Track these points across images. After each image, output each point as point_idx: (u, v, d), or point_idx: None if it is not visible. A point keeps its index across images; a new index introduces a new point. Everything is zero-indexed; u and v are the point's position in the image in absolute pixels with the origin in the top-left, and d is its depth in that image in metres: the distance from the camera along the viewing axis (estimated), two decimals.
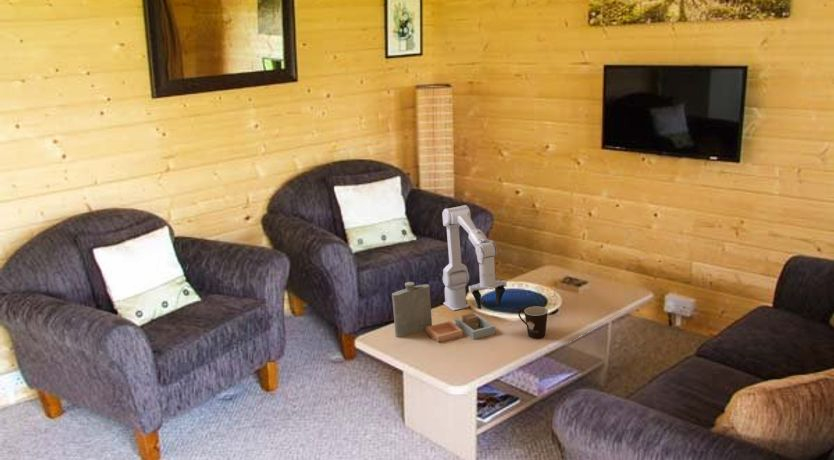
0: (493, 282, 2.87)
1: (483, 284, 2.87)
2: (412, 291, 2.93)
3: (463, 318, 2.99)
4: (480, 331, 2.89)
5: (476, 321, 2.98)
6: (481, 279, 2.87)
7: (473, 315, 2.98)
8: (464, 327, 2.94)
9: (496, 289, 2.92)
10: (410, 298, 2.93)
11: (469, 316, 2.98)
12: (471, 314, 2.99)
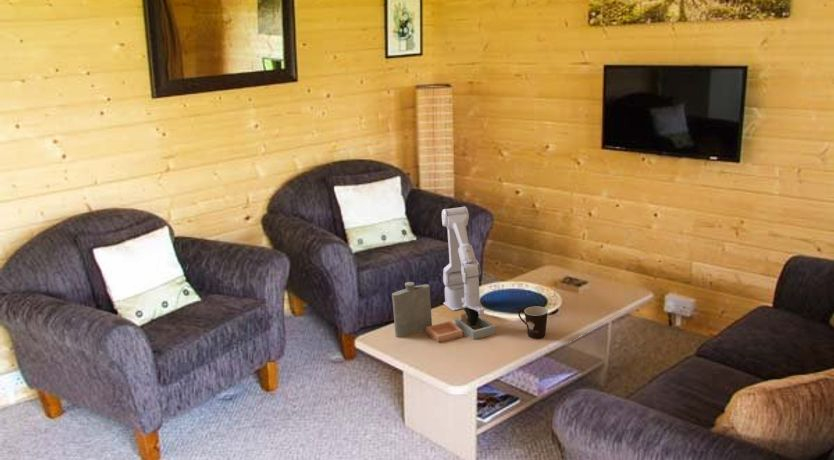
0: (468, 303, 2.92)
1: None
2: (412, 291, 2.93)
3: (462, 317, 3.00)
4: (480, 331, 2.89)
5: None
6: None
7: None
8: (464, 327, 2.94)
9: None
10: (410, 298, 2.93)
11: None
12: None
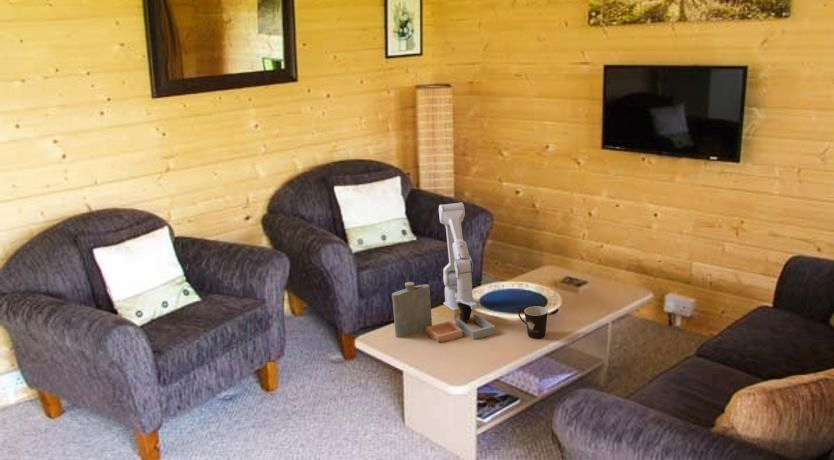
0: (461, 298, 2.97)
1: None
2: (412, 291, 2.93)
3: (455, 312, 3.04)
4: (480, 331, 2.89)
5: None
6: None
7: None
8: (464, 327, 2.94)
9: None
10: (410, 298, 2.93)
11: None
12: None
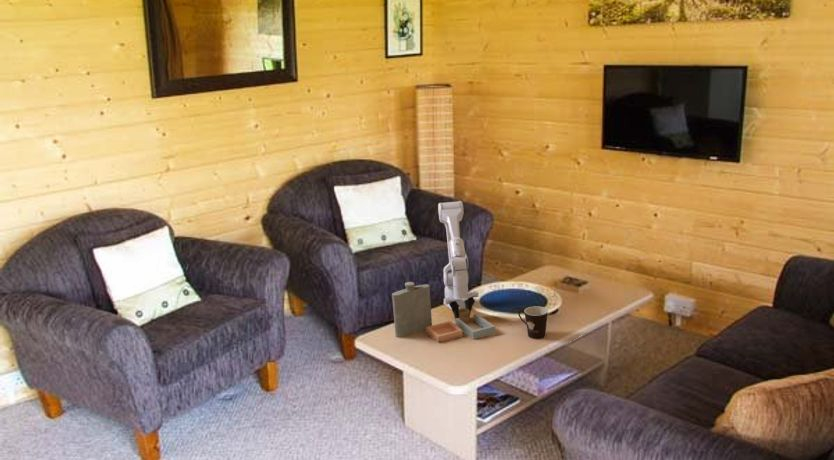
0: (467, 293, 3.00)
1: (458, 296, 3.00)
2: (412, 291, 2.93)
3: None
4: (480, 331, 2.89)
5: (468, 315, 3.03)
6: (455, 291, 3.00)
7: (465, 309, 3.04)
8: (464, 327, 2.94)
9: (466, 301, 3.05)
10: (410, 298, 2.93)
11: (461, 310, 3.04)
12: (463, 308, 3.05)
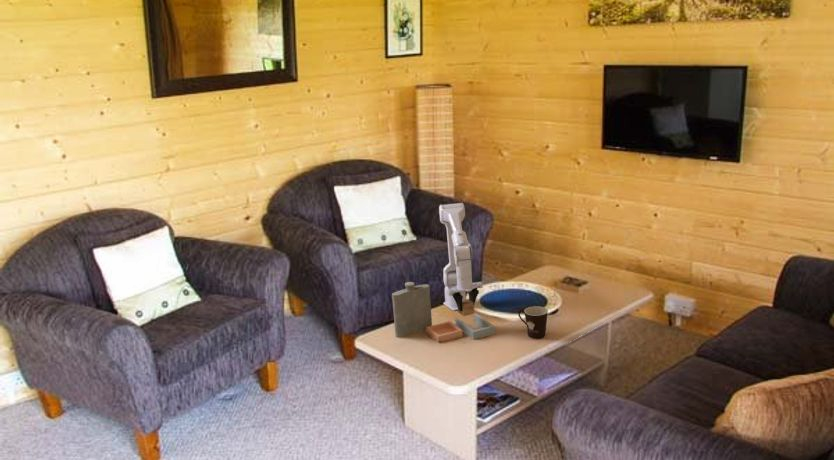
0: (471, 284, 2.90)
1: (461, 287, 2.90)
2: (412, 291, 2.93)
3: None
4: (480, 331, 2.89)
5: (472, 307, 2.94)
6: (459, 282, 2.90)
7: (469, 301, 2.94)
8: (464, 327, 2.94)
9: (469, 292, 2.95)
10: (410, 298, 2.93)
11: (465, 302, 2.94)
12: (467, 300, 2.95)
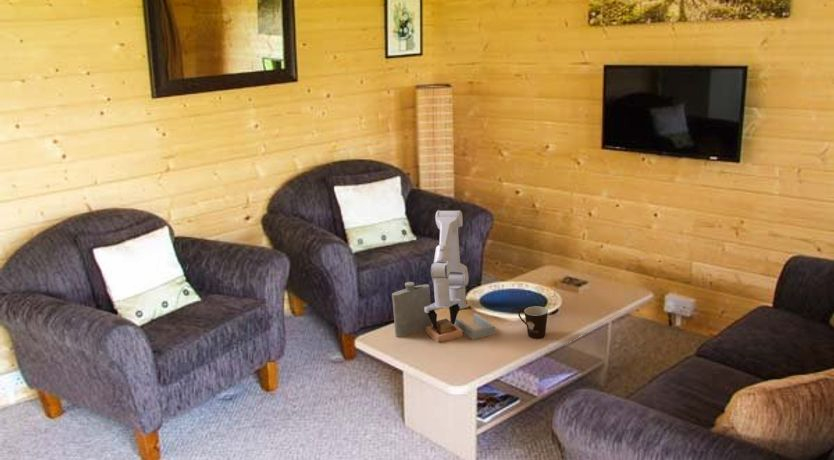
0: (448, 301, 2.88)
1: (439, 304, 2.87)
2: (412, 291, 2.93)
3: (437, 324, 2.93)
4: (480, 331, 2.89)
5: (450, 327, 2.92)
6: (436, 299, 2.88)
7: (447, 321, 2.92)
8: (464, 327, 2.94)
9: (450, 308, 2.93)
10: (410, 298, 2.93)
11: (443, 322, 2.92)
12: (445, 320, 2.93)
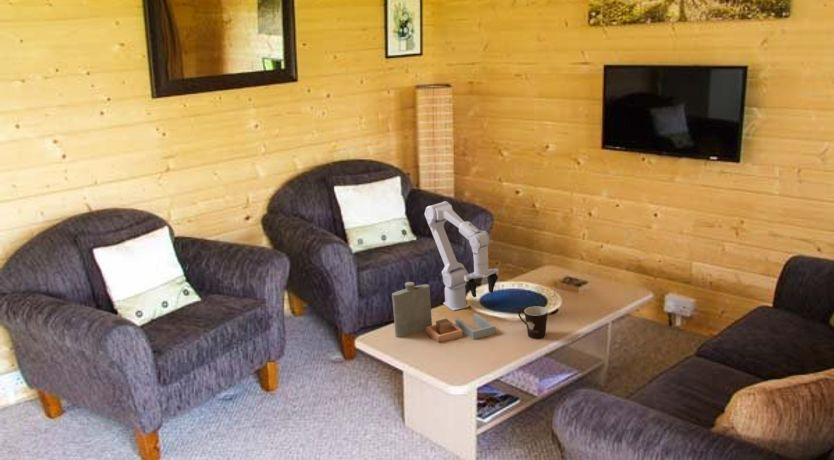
0: (487, 270, 3.01)
1: (478, 273, 3.00)
2: (412, 291, 2.93)
3: (437, 324, 2.93)
4: (480, 331, 2.89)
5: (450, 327, 2.92)
6: (476, 268, 3.00)
7: (447, 321, 2.92)
8: (464, 327, 2.94)
9: (489, 277, 3.05)
10: (410, 298, 2.93)
11: (443, 322, 2.92)
12: (445, 320, 2.93)
